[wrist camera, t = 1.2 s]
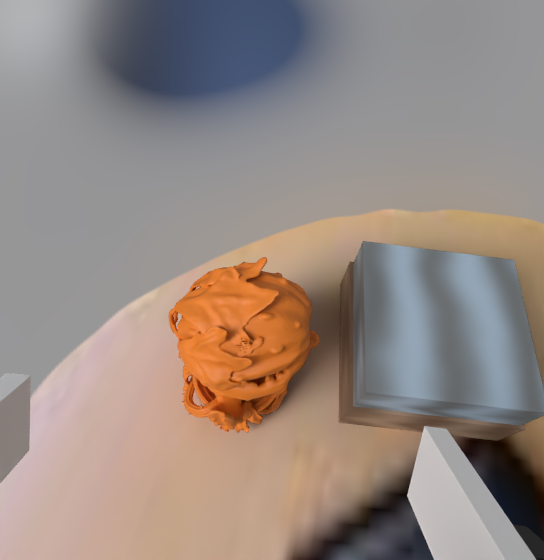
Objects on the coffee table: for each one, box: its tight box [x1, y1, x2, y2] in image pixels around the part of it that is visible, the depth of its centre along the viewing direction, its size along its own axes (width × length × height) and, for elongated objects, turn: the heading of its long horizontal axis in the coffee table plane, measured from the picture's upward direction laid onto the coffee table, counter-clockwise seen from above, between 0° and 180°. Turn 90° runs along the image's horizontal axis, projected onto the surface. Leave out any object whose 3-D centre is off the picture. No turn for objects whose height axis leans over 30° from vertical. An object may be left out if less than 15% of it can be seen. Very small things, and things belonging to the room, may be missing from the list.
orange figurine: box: [169, 257, 319, 433], centre depth 35 cm, size 11×11×18 cm
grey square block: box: [339, 241, 544, 441], centre depth 42 cm, size 15×15×8 cm
